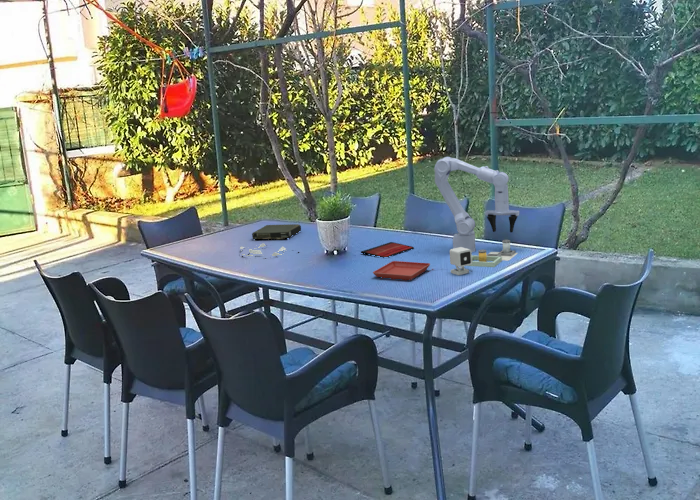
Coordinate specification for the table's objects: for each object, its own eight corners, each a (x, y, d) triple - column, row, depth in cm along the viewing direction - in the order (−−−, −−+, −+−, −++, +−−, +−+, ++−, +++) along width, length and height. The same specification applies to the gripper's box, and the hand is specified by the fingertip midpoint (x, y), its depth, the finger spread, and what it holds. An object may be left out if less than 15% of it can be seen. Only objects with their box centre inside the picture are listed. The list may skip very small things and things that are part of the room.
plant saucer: (411, 283, 274) (411, 275, 273) (372, 279, 284) (371, 272, 283) (431, 270, 289) (431, 263, 288) (393, 268, 298) (392, 260, 298)
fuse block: (481, 261, 294) (480, 256, 294) (491, 254, 305) (491, 249, 305) (508, 263, 288) (508, 258, 288) (518, 255, 299) (517, 250, 299)
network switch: (250, 242, 376) (249, 233, 375) (263, 233, 399) (262, 224, 398) (292, 240, 372) (291, 231, 371) (302, 231, 395) (301, 222, 393)
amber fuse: (477, 265, 287) (477, 251, 286) (480, 263, 290) (479, 249, 289) (485, 265, 286) (484, 251, 284) (488, 263, 288) (487, 249, 287)
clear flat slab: (306, 252, 344) (305, 245, 343) (267, 263, 328) (266, 256, 327) (263, 244, 369) (262, 238, 368) (225, 255, 353) (224, 248, 352)
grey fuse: (501, 255, 298) (501, 241, 296) (504, 253, 301) (503, 239, 299) (509, 255, 296) (508, 241, 295) (511, 253, 299) (511, 239, 298)
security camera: (459, 276, 276) (458, 252, 274) (449, 273, 282) (448, 249, 280) (472, 273, 279) (471, 249, 276) (462, 270, 285) (461, 246, 283)
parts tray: (463, 268, 287) (463, 261, 286) (472, 262, 295) (472, 255, 295) (494, 270, 280) (494, 262, 280) (502, 263, 289) (501, 256, 288)
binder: (360, 250, 326) (390, 241, 340) (360, 255, 326) (390, 246, 340) (385, 256, 314) (415, 246, 329) (386, 261, 315) (415, 250, 329)
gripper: (482, 202, 299) (483, 233, 302) (515, 202, 292) (516, 234, 295) (487, 199, 305) (489, 229, 308) (520, 199, 298) (521, 230, 301)
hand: (502, 231), depth 302 cm, fingers open, 7 cm apart
